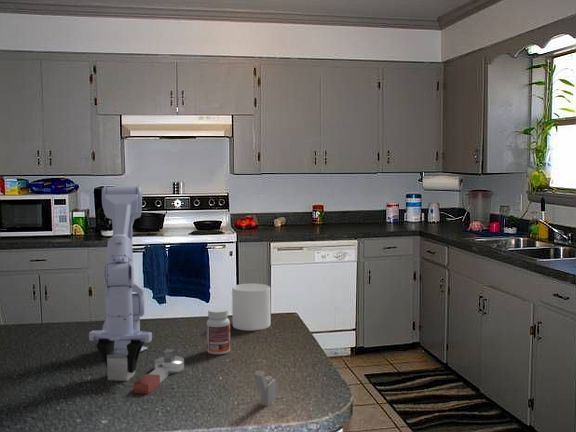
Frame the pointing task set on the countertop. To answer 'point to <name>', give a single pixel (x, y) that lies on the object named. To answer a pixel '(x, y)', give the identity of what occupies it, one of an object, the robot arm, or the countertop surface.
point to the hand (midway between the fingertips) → (121, 370)
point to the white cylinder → (251, 306)
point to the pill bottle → (218, 331)
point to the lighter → (265, 387)
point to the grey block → (118, 365)
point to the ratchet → (160, 372)
